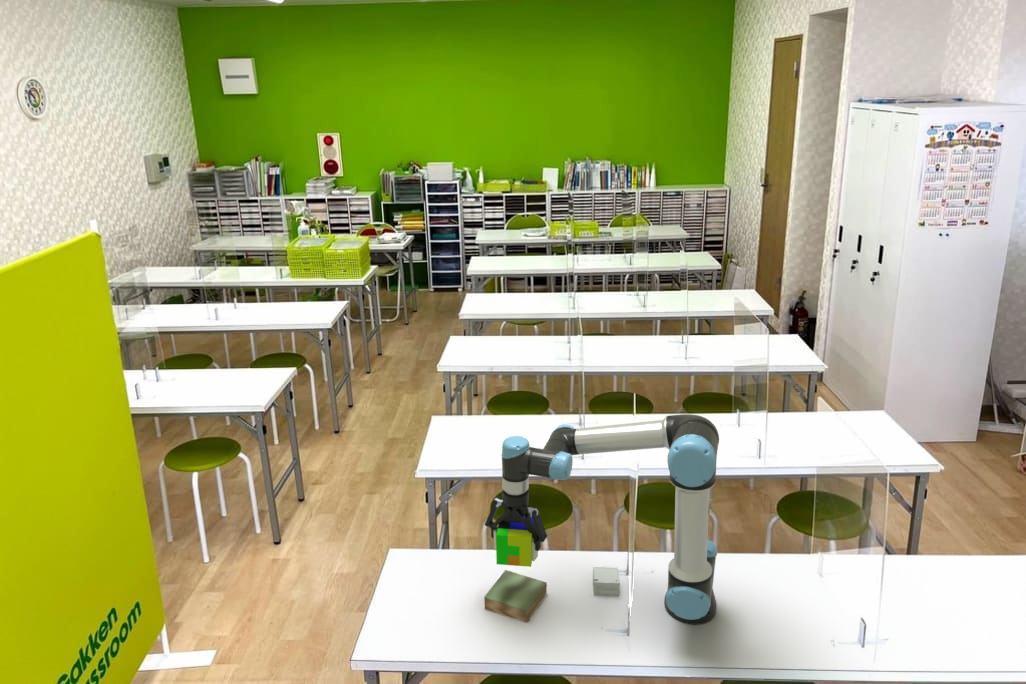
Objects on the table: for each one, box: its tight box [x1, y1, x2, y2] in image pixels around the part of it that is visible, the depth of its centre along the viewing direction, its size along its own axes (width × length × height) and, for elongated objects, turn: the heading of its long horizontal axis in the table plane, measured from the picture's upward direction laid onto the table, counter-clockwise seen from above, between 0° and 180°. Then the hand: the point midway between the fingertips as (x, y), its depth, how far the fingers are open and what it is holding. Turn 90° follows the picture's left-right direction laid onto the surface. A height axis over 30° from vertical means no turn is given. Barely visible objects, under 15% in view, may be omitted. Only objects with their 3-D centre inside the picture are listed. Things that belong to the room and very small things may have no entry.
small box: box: [592, 566, 620, 597], centre depth 236 cm, size 8×8×5 cm
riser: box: [483, 569, 548, 624], centre depth 230 cm, size 14×14×4 cm
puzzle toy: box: [495, 515, 534, 568], centre depth 224 cm, size 10×10×10 cm
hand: (515, 552), depth 225 cm, fingers closed on puzzle toy, 12 cm apart
